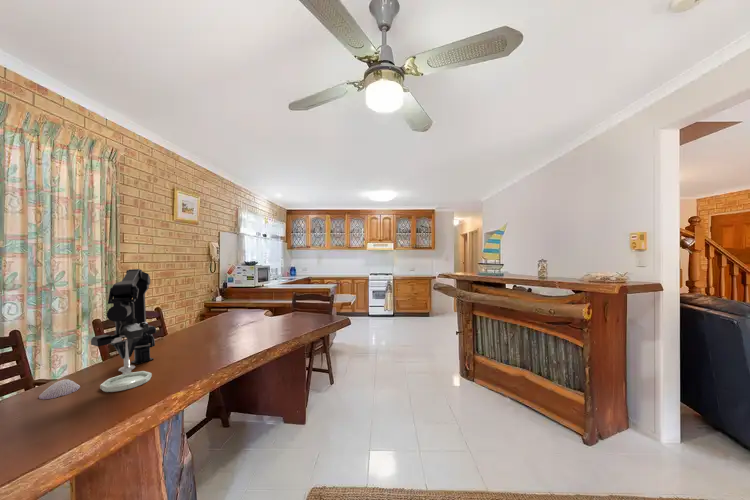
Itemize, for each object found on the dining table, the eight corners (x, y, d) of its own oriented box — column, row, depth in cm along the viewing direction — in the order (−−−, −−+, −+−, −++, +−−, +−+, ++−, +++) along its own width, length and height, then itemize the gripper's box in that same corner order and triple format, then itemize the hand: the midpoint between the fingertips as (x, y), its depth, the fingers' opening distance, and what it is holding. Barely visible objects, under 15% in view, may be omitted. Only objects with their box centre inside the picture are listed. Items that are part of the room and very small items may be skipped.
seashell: (84, 375, 117) (75, 379, 109) (83, 391, 116) (73, 395, 107) (48, 381, 112) (34, 385, 104) (46, 397, 111) (32, 402, 103)
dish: (94, 387, 112) (93, 383, 112) (138, 373, 125) (138, 369, 125) (113, 394, 106) (113, 390, 106) (158, 378, 119) (158, 374, 119)
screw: (135, 370, 119) (134, 374, 115) (119, 373, 116) (117, 377, 112) (134, 336, 119) (132, 339, 115) (118, 339, 116) (116, 342, 112)
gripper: (104, 324, 104) (106, 369, 104) (163, 313, 120) (164, 352, 120) (89, 321, 109) (91, 365, 109) (148, 311, 125) (149, 349, 125)
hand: (126, 357), depth 116 cm, fingers closed on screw, 2 cm apart
